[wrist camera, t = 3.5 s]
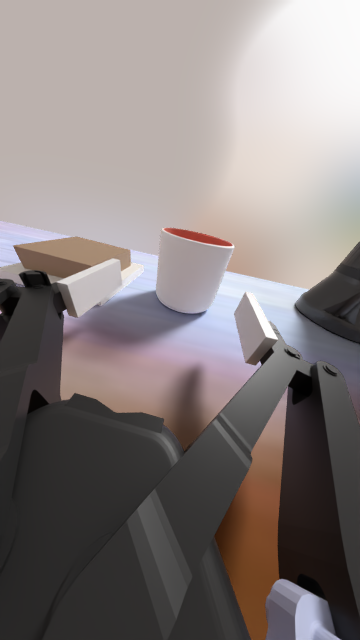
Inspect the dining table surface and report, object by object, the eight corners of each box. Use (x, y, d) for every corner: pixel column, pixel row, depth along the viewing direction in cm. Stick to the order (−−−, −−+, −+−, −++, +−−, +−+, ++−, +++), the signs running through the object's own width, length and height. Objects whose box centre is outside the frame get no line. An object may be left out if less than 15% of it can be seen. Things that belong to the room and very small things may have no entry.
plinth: (143, 272, 31) (144, 250, 28) (101, 305, 19) (95, 274, 17) (80, 256, 32) (74, 233, 29) (1, 279, 20) (-21, 244, 17)
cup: (198, 326, 20) (225, 251, 14) (142, 299, 23) (144, 226, 16) (217, 300, 27) (240, 243, 21) (173, 282, 30) (182, 227, 24)
